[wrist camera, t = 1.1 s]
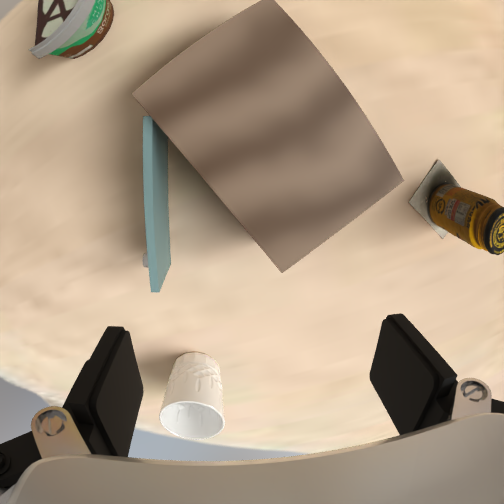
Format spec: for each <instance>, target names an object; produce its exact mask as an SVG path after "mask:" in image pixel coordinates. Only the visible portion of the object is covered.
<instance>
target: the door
mask: <svg viewBox="0 0 504 504" xmlns="http://www.w3.org/2000/svg"><path fill="white" fill-rule="evenodd" d="M143 185H144V210H145V228H146V242H147V253H144V255H143V266H144V267H149V277H150V286H151V292H160V289H161V287H162V284H163V282H164V279H165V277H166V274H167V272H168V269H169V267H170V265H171V256H170V237H169V211H168V136H167V135H166V134H165V133H164V131H163V130H162V129H161V128H160V127H159V126H158V124H157V123H156V122H155V121H154V120H153V118H152V117H151V116H143Z"/></svg>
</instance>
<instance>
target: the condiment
mask: <svg viewBox="0 0 504 504" xmlns="http://www.w3.org/2000/svg"><path fill="white" fill-rule="evenodd" d="M445 181H446V182H445ZM426 197H427V200H426ZM426 201H427V203H426ZM409 203H410V204H411V205H412V206H413V207H414V208H415V209H416V210H417V211H418V212H419V213H420V215H421V216H422V217H423V218H424V219H425V220H426V221H427V222H428V223H429V224H430V225H431V227H432V228H433V229H434V230H435V231H436V232H437V233H438V234H439V235H440V236H441V238H442V239H444V237H445V236H446V234H447V233H448V232H450V233H451V234H453V235H454V236H456V237H458V238H460V239H462V240H463V241H465V242H467V243H468V244H470V245H471V246H473V247H475V248H478V249H484V250H485V251H488V252H490V253H491V254H496V255H500V254H502V253H503V252H504V207H502V206H500V205H499V204H498V203H497V202H496V201H495V200H493V199H491V198H488V197H486V196H483V195H480V194H478V193H475V192H472V191H469V190H467V189H464V188H461V187H460V185H459V184H458V183H457V181H456V180H455V179H454V177H453V176H452V175H451V174H450V172H449V171H448V170H447V169H446V167H445V166H444V165H443V163H442V162H441V161H440V160H438V161H437V163H436V164H435V165H434V167H433V168H432V169H431V171H430V172H429V174H428V175H427V176H426V178H425V179H424V181H423V182H422V183H421V185H420V187H419V188H418V190H417V191H416V192H415V194H414V195H413V197H412V198H411V200H410V201H409Z"/></svg>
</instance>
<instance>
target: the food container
mask: <svg viewBox="0 0 504 504" xmlns="http://www.w3.org/2000/svg"><path fill="white" fill-rule="evenodd" d="M113 16H114V10H113V6H112V4H111V2H110V0H39V2H38V18H37V30H36V40H35V46H34V47H32V48H30V49H29V51H31V52H32V54H33V55H34V56H36V57H37V58H39V59H40V58H42V57H44V56H46V55H48V54H51V55H57V56H63V57H68V58H73V59H75V58H78V57H80V56H83V55H84V54H86V53H87V52H89V51H91V50H92V49H94V48H95V47H96V46H97V45H98V44H99V43H100V42H101V41H102V40H103V39H104V37H105V35H106V34H107V32H108V31H109V29H110V27H111V24H112V21H113Z"/></svg>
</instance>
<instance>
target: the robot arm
mask: <svg viewBox="0 0 504 504" xmlns="http://www.w3.org/2000/svg"><path fill="white" fill-rule="evenodd" d="M456 377H457V374H456V373H455V372H454V371H453V369H452V368H451V367H450V366H449V365H448V364H447V362H446V361H445V360H444V359H443V358H442V357H441V356H440V354H439V353H438V352H437V351H436V350H435V349H434V348H433V346H432V345H431V344H430V343H429V342H428V341H427V340H426V339H425V338H424V336H423V335H422V334H421V333H420V332H419V331H418V330H417V329H416V328H415V327H414V325H413V324H412V323H411V322H410V321H409V320H408V319H407V318H406V317H405V316H404V315H403V314H393V315H388V316H387V317H386V319H384V320H383V322H382V326H381V330H380V335H379V339H378V343H377V347H376V351H375V355H374V359H373V363H372V367H371V370H370V381H371V383H372V385H373V386H374V388H375V390H376V392H377V394H378V395H379V397H380V399H381V401H382V403H383V405H384V406H385V408H386V410H387V412H388V414H389V416H390V417H391V419H392V421H393V423H394V425H395V427H396V429H397V430H398V432H399V434H400V435H399V436H396V437H392V438H388V439H384V440H380V441H376V442H372V443H367V444H363V445H358V446H353V447H348V448H343V449H338V450H332V451H326V452H320V453H314V454H307V455H299V456H291V457H282V458H271V459H259V460H241V461H173V460H155V459H141V458H129V457H128V453H129V449H130V444H131V440H132V436H133V432H134V428H135V424H136V420H137V416H138V412H139V408H140V404H141V401H142V397H143V384H142V381H141V377H140V373H139V369H138V366H137V362H136V358H135V354H134V349H133V345H132V341H131V337H130V333H129V331H125V329H124V327H115V326H108V327H107V328H106V330H105V332H104V334H103V336H102V337H101V339H100V341H99V343H98V345H97V346H96V348H95V350H94V352H93V354H92V356H91V358H90V359H89V360H87V361H86V363H85V364H84V366H83V368H82V370H81V372H80V374H79V375H78V377H77V379H76V381H75V383H74V385H73V387H72V389H71V391H70V393H69V395H68V397H67V399H66V401H65V403H64V405H63V407H62V408H61V407H58V406H51V407H47V408H44V409H42V410H40V411H39V412H37V413H36V414H35V416H34V417H33V419H32V422H31V429H32V431H30V432H28V433H26V434H23V435H21V436H19V437H16V438H14V439H12V440H9V441H7V442H4V443H2V444H0V504H504V402H502V401H498V400H495V399H491V390H490V389H489V387H488V386H487V385H486V384H485V383H484V382H482V381H481V380H478V379H475V378H465V379H463V380H461V381H460V382H459V383H458V381H457V380H456Z"/></svg>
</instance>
